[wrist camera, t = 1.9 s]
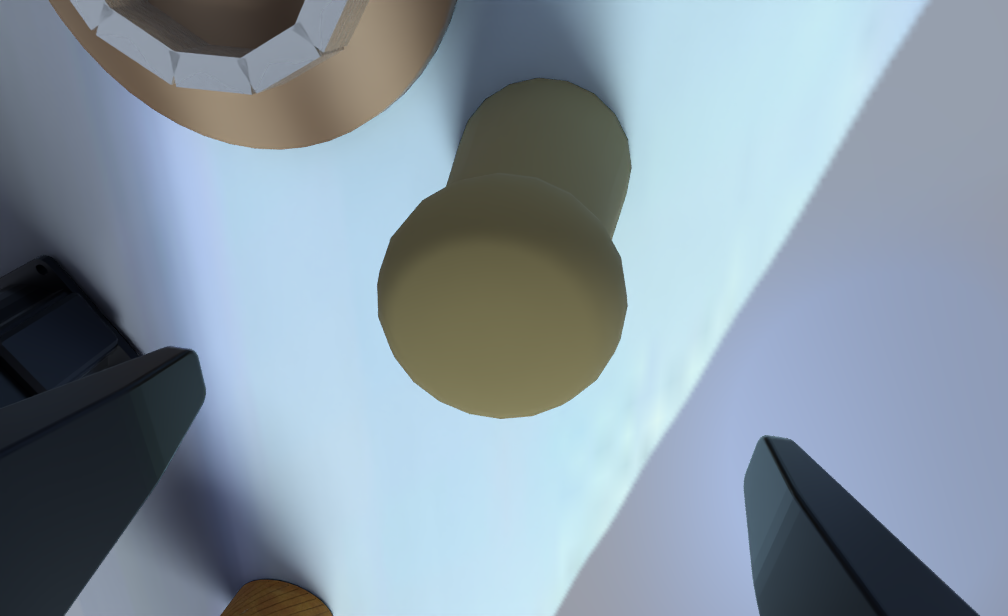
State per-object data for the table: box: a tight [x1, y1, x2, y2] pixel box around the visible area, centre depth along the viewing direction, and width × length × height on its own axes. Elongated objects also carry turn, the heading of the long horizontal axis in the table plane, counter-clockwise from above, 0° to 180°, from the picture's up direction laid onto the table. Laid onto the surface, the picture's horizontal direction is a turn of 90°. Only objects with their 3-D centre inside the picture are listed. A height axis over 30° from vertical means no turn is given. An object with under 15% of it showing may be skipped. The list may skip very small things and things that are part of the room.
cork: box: [377, 78, 631, 419], centre depth 16 cm, size 6×6×11 cm
